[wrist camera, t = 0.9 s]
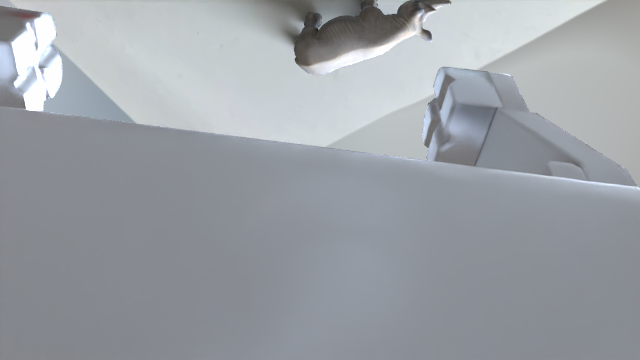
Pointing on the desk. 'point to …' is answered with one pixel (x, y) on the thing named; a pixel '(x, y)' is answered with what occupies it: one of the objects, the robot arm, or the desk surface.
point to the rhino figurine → (359, 35)
